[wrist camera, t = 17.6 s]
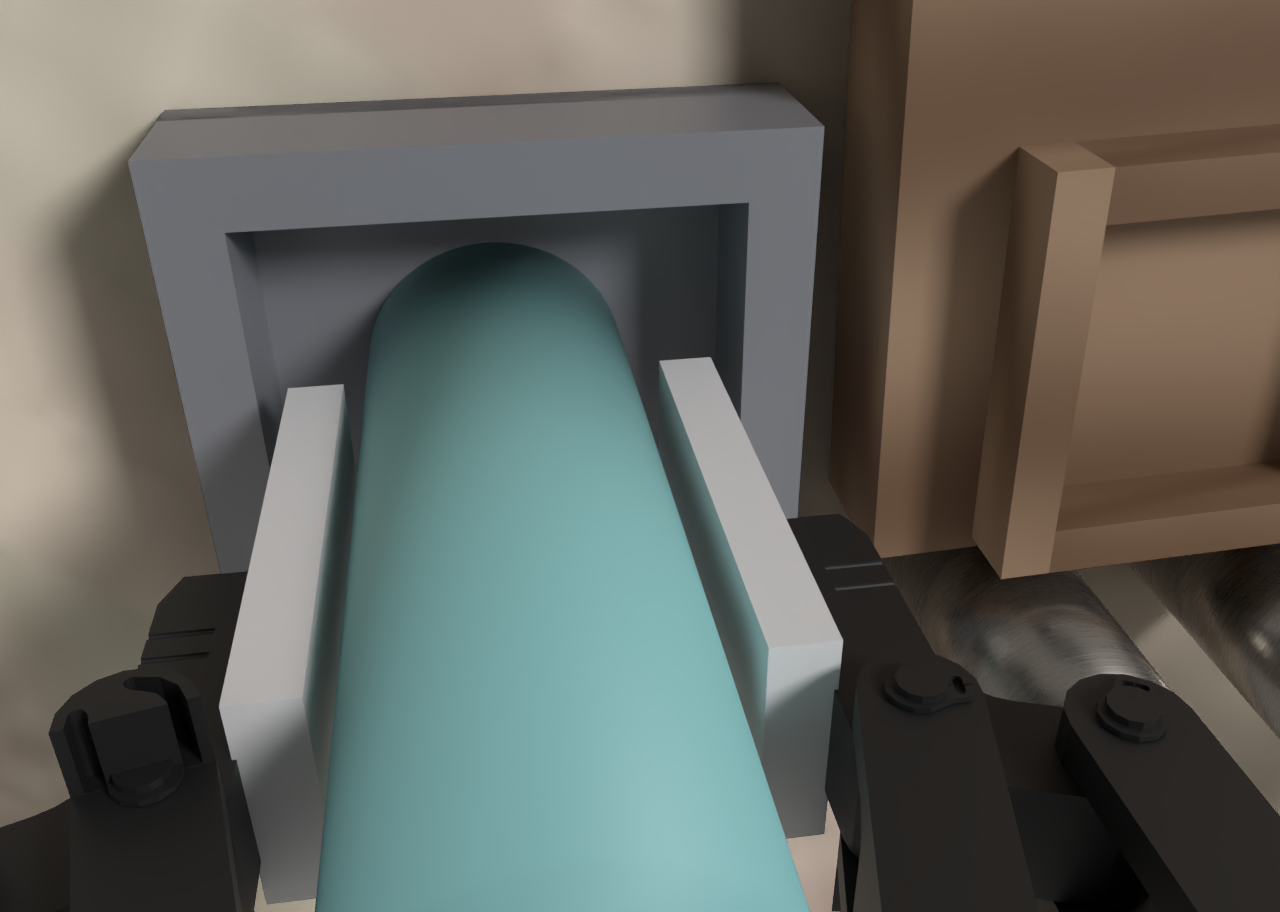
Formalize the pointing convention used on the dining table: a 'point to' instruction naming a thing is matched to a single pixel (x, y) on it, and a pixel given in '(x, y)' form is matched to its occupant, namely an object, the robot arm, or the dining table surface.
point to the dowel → (529, 628)
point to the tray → (470, 214)
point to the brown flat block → (1060, 280)
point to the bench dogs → (1095, 621)
